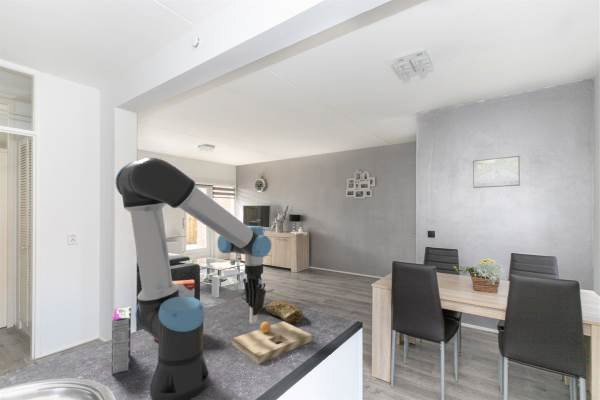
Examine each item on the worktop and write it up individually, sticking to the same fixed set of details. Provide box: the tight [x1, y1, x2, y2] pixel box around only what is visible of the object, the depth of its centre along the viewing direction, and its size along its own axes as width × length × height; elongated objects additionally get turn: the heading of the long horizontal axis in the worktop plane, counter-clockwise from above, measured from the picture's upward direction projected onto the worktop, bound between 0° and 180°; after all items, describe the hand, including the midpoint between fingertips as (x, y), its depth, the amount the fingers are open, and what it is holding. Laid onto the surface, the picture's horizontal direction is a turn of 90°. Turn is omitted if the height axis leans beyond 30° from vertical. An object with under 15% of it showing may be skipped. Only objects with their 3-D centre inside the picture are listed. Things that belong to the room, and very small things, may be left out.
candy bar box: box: [111, 306, 132, 375], centre depth 92 cm, size 11×5×16 cm, turn 30°
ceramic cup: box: [240, 287, 267, 312], centre depth 142 cm, size 13×10×10 cm
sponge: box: [265, 299, 304, 324], centre depth 133 cm, size 13×8×20 cm
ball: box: [259, 321, 272, 333], centre depth 110 cm, size 4×4×4 cm
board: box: [231, 320, 313, 365], centre depth 107 cm, size 24×17×2 cm
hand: (253, 322), depth 116 cm, fingers closed
